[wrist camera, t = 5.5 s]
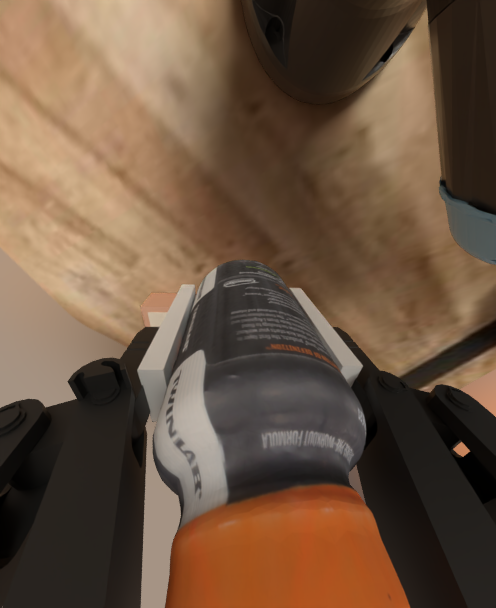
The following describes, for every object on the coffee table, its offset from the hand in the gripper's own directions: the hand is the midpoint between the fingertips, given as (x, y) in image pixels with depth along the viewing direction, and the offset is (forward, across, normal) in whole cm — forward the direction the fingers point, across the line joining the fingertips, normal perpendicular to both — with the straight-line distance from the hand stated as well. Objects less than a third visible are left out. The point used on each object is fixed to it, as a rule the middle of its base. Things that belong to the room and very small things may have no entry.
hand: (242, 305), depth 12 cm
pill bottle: (+1, 0, 0) cm, 1 cm away
